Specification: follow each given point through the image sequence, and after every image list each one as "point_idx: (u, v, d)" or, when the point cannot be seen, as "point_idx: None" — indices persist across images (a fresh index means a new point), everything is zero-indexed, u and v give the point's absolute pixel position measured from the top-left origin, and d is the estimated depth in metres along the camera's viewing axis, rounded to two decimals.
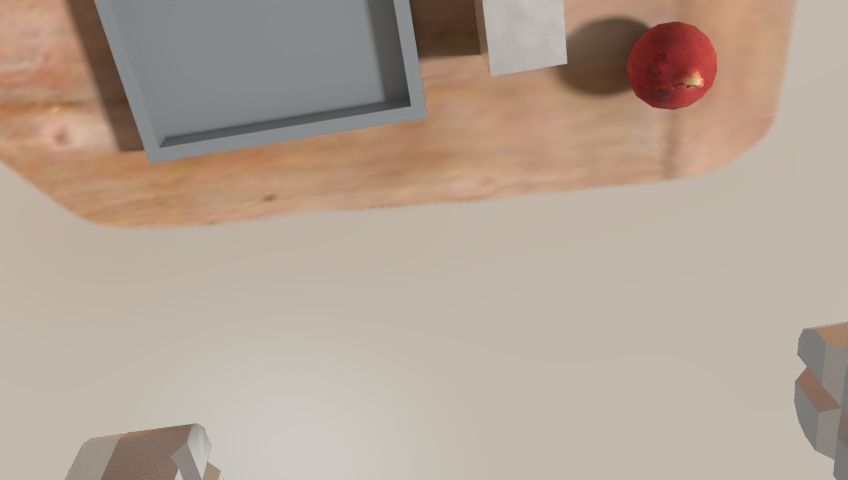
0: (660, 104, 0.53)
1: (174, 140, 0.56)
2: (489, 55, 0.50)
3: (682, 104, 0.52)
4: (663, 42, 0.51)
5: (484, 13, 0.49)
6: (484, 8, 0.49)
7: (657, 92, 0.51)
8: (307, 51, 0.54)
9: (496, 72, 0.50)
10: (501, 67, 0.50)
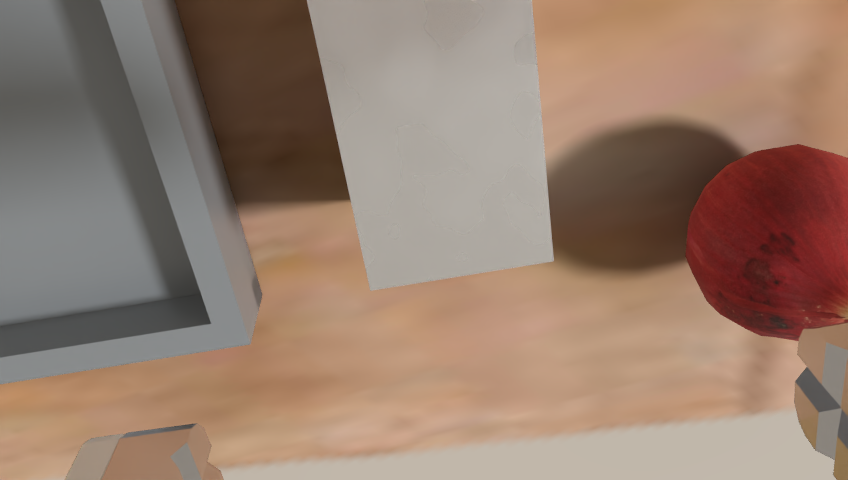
0: (767, 334, 0.23)
1: None
2: (362, 245, 0.20)
3: None
4: (785, 206, 0.21)
5: (342, 151, 0.19)
6: (340, 140, 0.19)
7: (765, 319, 0.22)
8: None
9: (382, 282, 0.21)
10: (393, 271, 0.21)
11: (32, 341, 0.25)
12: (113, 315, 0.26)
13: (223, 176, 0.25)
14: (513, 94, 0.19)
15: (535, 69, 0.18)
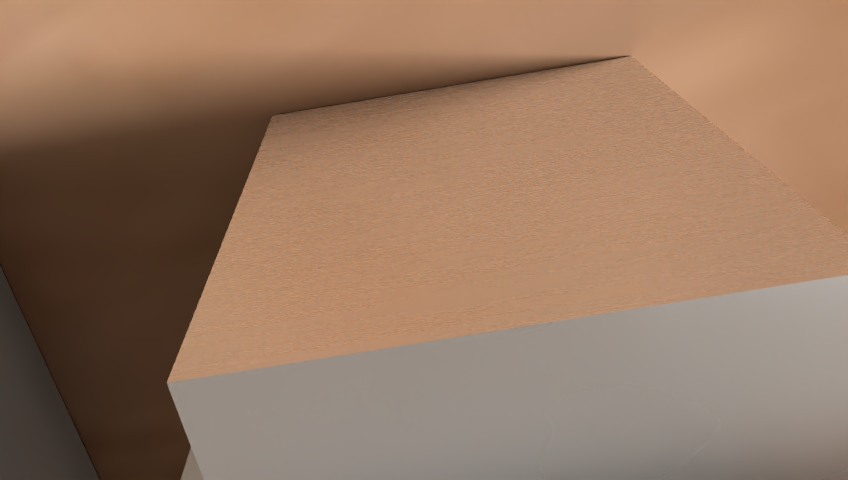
0: None
1: None
2: None
3: None
4: None
5: None
6: None
7: None
8: None
9: None
10: None
11: None
12: None
13: None
14: None
15: None
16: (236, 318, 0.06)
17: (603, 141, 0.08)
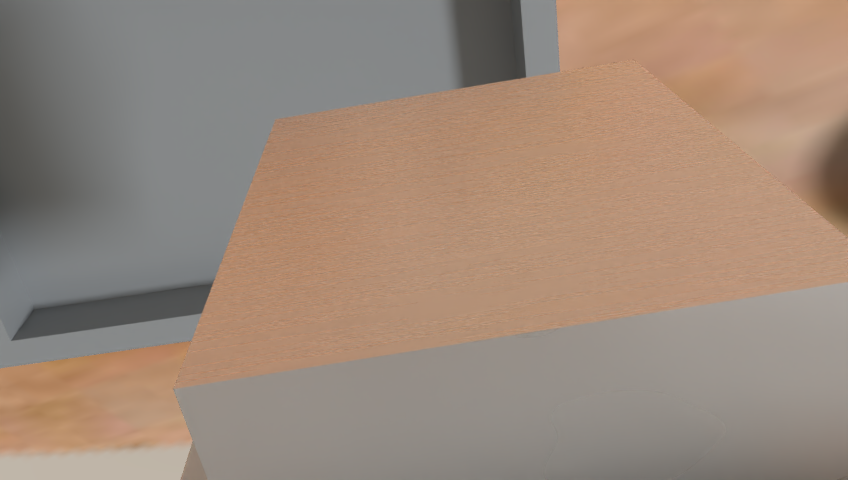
0: None
1: (48, 318, 0.27)
2: None
3: None
4: None
5: None
6: None
7: None
8: None
9: None
10: None
11: None
12: None
13: None
14: None
15: None
16: (241, 324, 0.06)
17: (606, 145, 0.08)
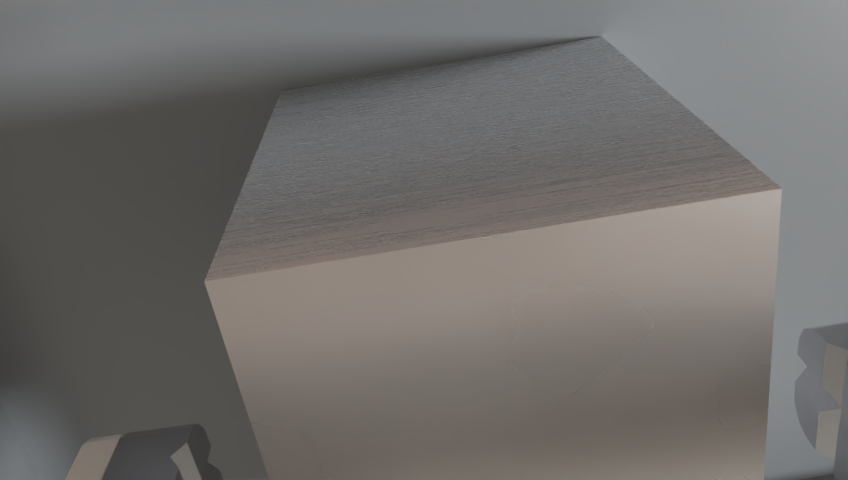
0: None
1: None
2: None
3: None
4: None
5: None
6: None
7: None
8: None
9: None
10: None
11: None
12: None
13: None
14: None
15: (762, 434, 0.08)
16: (257, 236, 0.07)
17: (568, 103, 0.09)
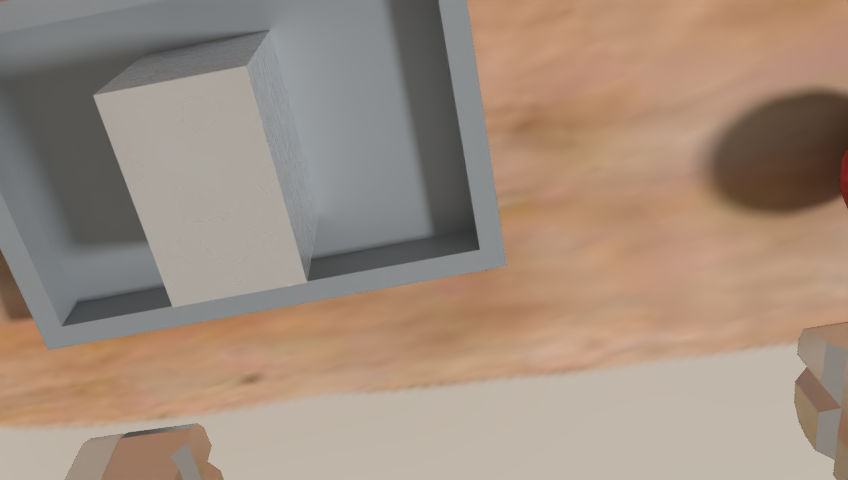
0: None
1: (90, 308, 0.34)
2: (162, 274, 0.28)
3: None
4: None
5: (137, 206, 0.27)
6: (133, 198, 0.26)
7: None
8: (305, 162, 0.32)
9: (180, 301, 0.28)
10: (187, 292, 0.28)
11: (338, 268, 0.33)
12: (394, 249, 0.34)
13: None
14: (254, 163, 0.26)
15: (266, 145, 0.26)
16: (111, 87, 0.25)
17: (228, 51, 0.27)
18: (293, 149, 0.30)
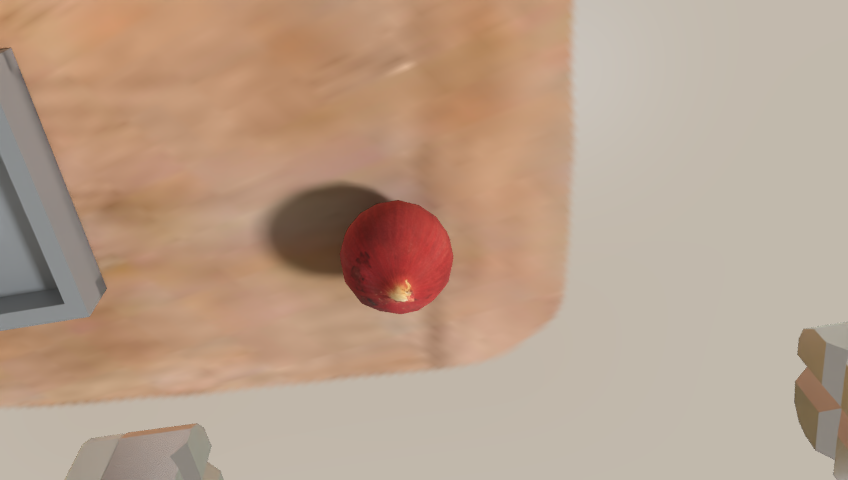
0: (379, 309, 0.40)
1: None
2: None
3: (403, 313, 0.39)
4: (368, 237, 0.38)
5: None
6: None
7: (366, 300, 0.39)
8: None
9: None
10: None
11: None
12: (10, 299, 0.43)
13: (74, 216, 0.42)
14: None
15: None
16: None
17: None
18: None
